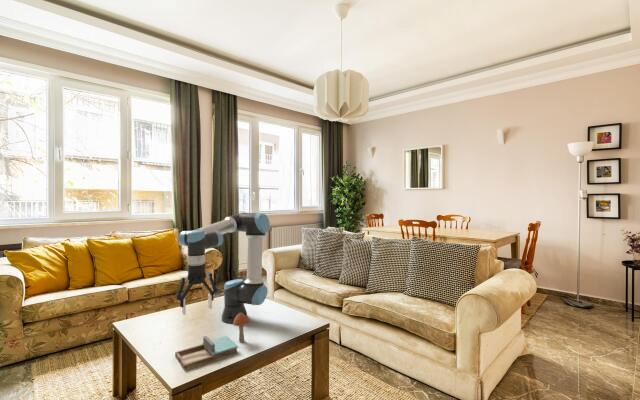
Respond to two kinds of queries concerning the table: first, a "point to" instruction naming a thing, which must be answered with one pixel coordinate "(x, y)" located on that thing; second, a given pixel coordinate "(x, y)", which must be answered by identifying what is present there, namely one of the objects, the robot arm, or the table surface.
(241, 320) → the mushroom
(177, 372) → the table surface
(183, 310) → the robot arm
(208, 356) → the board
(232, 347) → the lid
